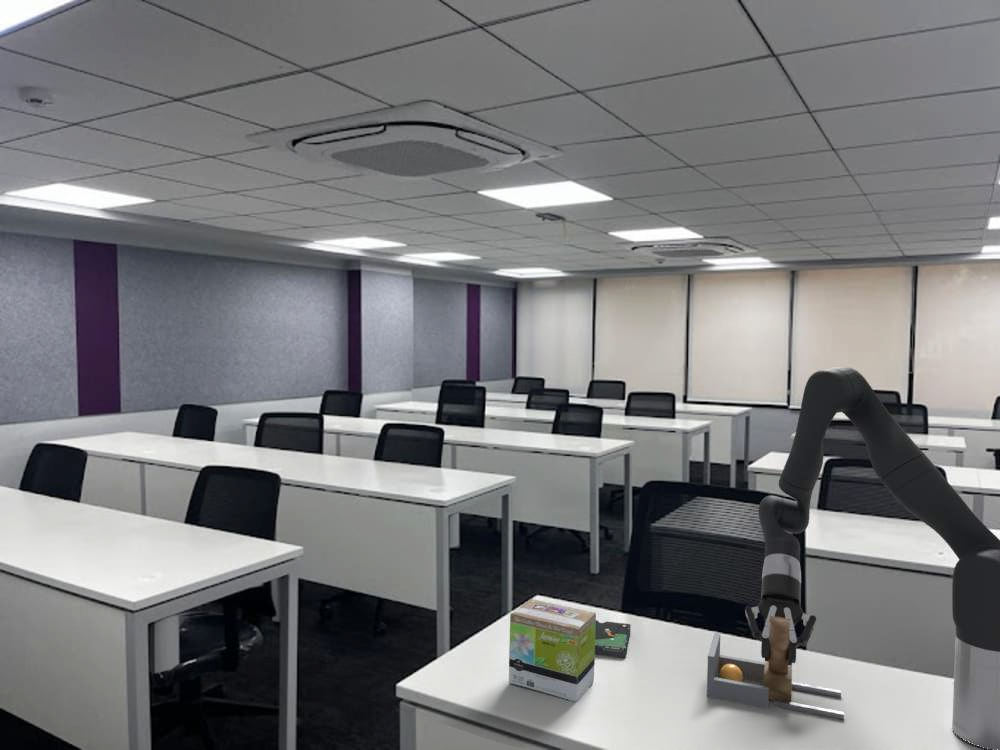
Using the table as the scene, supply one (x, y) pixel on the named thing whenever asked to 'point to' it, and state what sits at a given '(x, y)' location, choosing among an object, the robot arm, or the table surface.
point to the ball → (731, 673)
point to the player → (778, 661)
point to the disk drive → (612, 639)
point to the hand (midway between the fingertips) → (778, 661)
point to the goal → (734, 688)
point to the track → (811, 708)
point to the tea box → (552, 649)
